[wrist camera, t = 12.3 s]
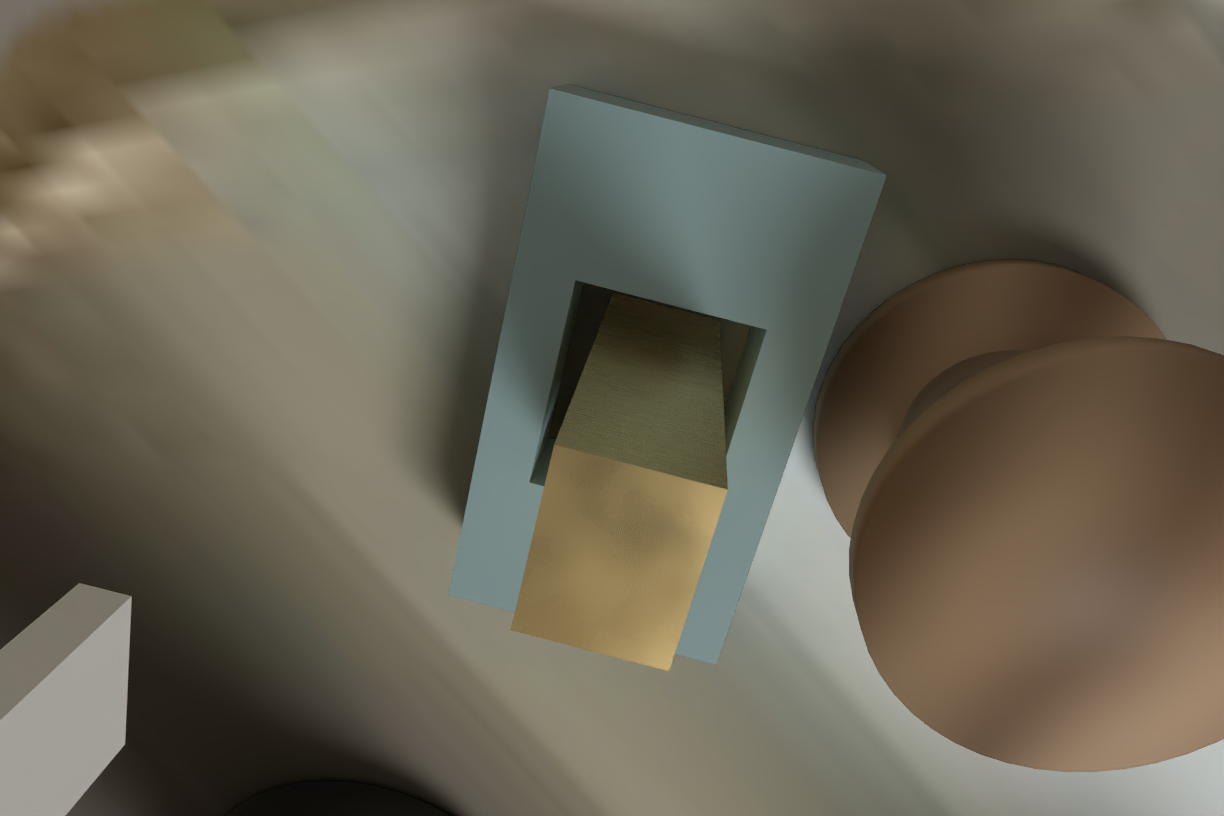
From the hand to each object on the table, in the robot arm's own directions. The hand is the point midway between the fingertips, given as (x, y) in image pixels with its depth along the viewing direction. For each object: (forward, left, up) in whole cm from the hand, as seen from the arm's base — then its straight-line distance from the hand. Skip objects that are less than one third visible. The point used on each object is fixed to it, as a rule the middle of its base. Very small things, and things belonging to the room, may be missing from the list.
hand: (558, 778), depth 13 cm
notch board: (0, 0, -18) cm, 18 cm away
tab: (0, 0, -18) cm, 18 cm away
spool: (+11, +1, -18) cm, 21 cm away
